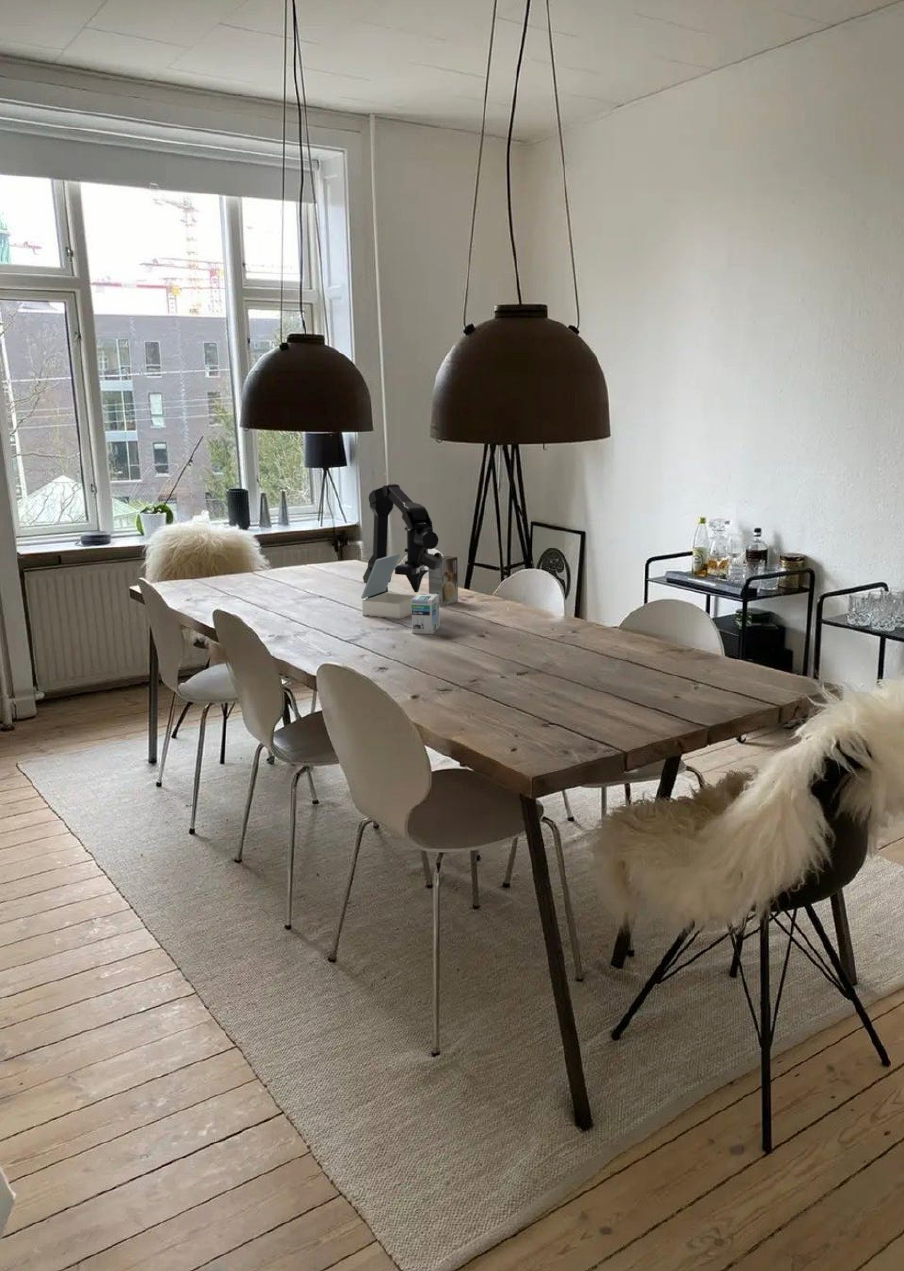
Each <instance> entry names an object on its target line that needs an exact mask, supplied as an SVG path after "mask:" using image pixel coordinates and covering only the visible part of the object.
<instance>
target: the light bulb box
mask: <svg viewBox="0 0 904 1271" xmlns="http://www.w3.org/2000/svg"><path fill="white" fill-rule="evenodd" d="M416 595H417V596H415V597H414V598H413V599H412V600H411V601H412V614H411V633H412V634H423V635H433V634H434V633H436V631H437V630H438V629H439V628H440V605H439V594H429V593H425V592H423V593H422V592H421V593H420V592H418V594H416Z"/></svg>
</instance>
